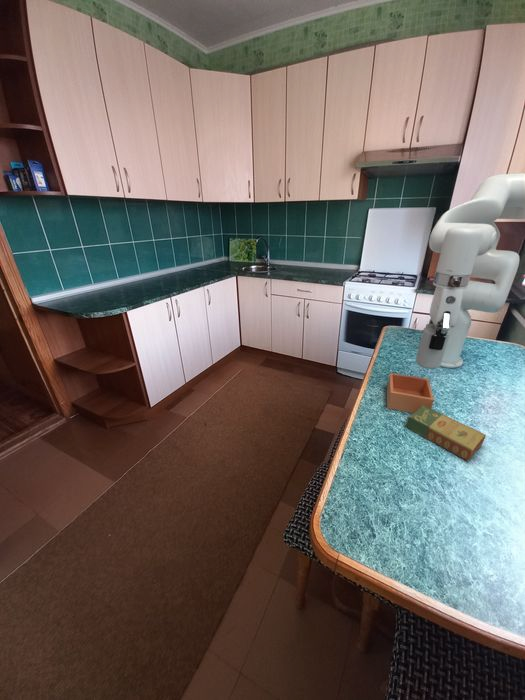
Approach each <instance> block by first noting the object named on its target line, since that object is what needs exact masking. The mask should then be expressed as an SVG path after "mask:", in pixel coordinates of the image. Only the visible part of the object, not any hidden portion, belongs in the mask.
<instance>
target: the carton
mask: <svg viewBox="0 0 525 700" xmlns="http://www.w3.org/2000/svg"><path fill="white" fill-rule="evenodd" d="M406 428H407V429H409V430H410V431H412V432H414V433H416V434H417V435H419V436H421V437H423V438H424V439H426V440H427V441H430V442H432V443H434V444H436V445H437V446H440V448H441V447H442V448H443V449H445V450H446V451H448V452H450V453H452V454H454V455H456V456H458V457H460V458H461V459H463V460H465V461H467V462H469V461H470V460H471V459H472V458H473V456H474V455H475V454H476V453H477V452H478V451H479V450H480V448H481V447H482V446H483V444H484V441H485V440H486V434H485V433H483V432H481V431H479V430H476V429H474V428H472V427H470V426H469V425H466V424H465V423H463V422H460V421H457V420H456V419H454V418H452V417H449V416H448V415H445V414H443V413H441V412H439V411H437V410H435V409H434V408H433V409H432V408H429V407H427V406H425V405H423V406H422V407H421V408H419V409H418V410H417V411H416V412H414V413H411V414H410V415H409V416H408V418H407V421H406Z"/></svg>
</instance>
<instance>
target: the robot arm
mask: <svg viewBox="0 0 525 700" xmlns="http://www.w3.org/2000/svg"><path fill="white" fill-rule="evenodd" d="M524 219H525V172H523V173H522V172H520V173H502V174H495V175H491V176H489V177H487V178H485V179H484V180H483V181H482V182H481V183H480V184H479V186H478V187H477V189H476V190H475V192H474V194H473V195H472V197H471V198H470V200H468V201H466V202H463V203H461V204H459V205H456V206H454V207H451V208H450V209H448V210H447V211H446V212H444V213H442V215H441V216H440V217H439V219H438V220H437V222H436V224H435V225H434V227H433V228H432V231H431V233H430V235H429V238H428V239H429V240H428V246H429V249H430V250H431V251H432V252H434V253H439V258H438V262H437V265H436V269H435V270H436V271H435V274H434V278H433V282H432V285H433V286H435V288H434V289H435V290H434V293H433V297H432V300H431V304H430V308H429V316H430V319H429V322H428V324H430V323H433V324H434V325H435V329H434V335H432V337H431V340H430V344H429V349H434V350H442V349H443V346H444V342H445V339H446V336H447V331H448V330H449V332H450V335H449V338H448V342H447V345H446V348H445V352H444V355H443V358H442V362H441V365H440V367H441V368H442V367H443V368H447V369H448V368H450V369H453V368H454V369H456V368H460V367H462V366H463V363H464V360H463V359H462V358H461V354H462V351H463V348H464V344H465V343H466V339H467V338H468V333H469V331H470V328H471V325H472V316H471V314H470V311H469V310H472V311H477V312H483V313H491V314H495V313H499V312H500V311H502V309H503V308H504V306H505V304H506V301H507V299H508V297H509V293H510V291H511V288H512V285H513V282H514V280H515V277H516V275H517V273H518V268H519V265H520V255H519V253H517V252H516V251H512V250H502V249H497V247H498V243H499V241H500V238H501V232H500V230H499V228H498V226H497V224H496V223H495V222H496V220H524ZM471 278H476V279H481V280H482V279H483V280H491V281H493V282H494V283H492V282H482V281H476V280H470V279H471ZM440 324H442V325H440ZM438 327H441V329H439V330H438Z"/></svg>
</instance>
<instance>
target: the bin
mask: <svg viewBox="0 0 525 700" xmlns="http://www.w3.org/2000/svg"><path fill="white" fill-rule="evenodd" d="M434 402H435V398H434V394H433V390H432V386H431V382H430V378H425V377H419V376H412V375H405V374H400V373H392V372H390V373H389V376H388V379H387V384H386V408H387V409H389V410H394V411H400V412H405V413H410V414H413V413H414V412H416V411H417V410H418V409H419V408H421V407H422V406H423V405H425V406H427V407H429V408H431V409H432V408H433V405H434Z"/></svg>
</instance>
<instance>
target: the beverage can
mask: <svg viewBox="0 0 525 700" xmlns="http://www.w3.org/2000/svg"><path fill="white" fill-rule="evenodd" d="M440 325H442V324H440ZM434 329H435V325H434V324H433V323H430V324H429V323H427V324H426V325H425V327H423V329H422V333H421V337H420V341H419V345H418V349H417V353H416V359H415V362H416V364H417V365H418V366H420V367H421V368H423V369H426V370H427V369H428V370H434V369H438V368H440V367H441V366H440V365H441V362H442V358H443V355H444V352H445V348H446V345H447V342H448V338H449V335H450V332H449V330H448V331H447V336H446V339H445V342H444V346H443V349H442V350H434V349H429V344H430V340H431V337H432V335H434ZM439 329H441V327H438V330H439Z"/></svg>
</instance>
